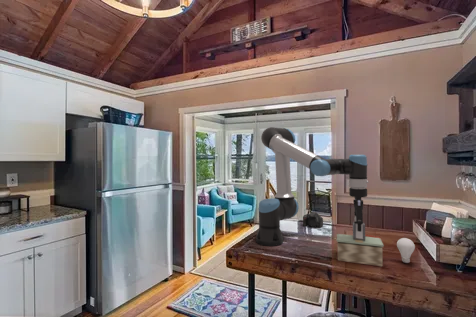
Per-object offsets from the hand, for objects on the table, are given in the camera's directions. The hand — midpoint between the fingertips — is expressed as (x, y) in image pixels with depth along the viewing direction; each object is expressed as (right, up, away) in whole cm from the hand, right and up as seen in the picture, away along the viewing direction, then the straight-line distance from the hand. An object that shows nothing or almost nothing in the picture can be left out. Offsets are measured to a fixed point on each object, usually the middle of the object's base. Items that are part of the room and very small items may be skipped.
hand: (358, 233), depth 117 cm
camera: (-5, -11, +53) cm, 54 cm away
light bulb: (+18, -12, -5) cm, 22 cm away
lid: (0, -3, 0) cm, 3 cm away
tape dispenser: (+9, -12, +14) cm, 21 cm away
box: (0, -12, 0) cm, 12 cm away
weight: (0, -2, 0) cm, 2 cm away
